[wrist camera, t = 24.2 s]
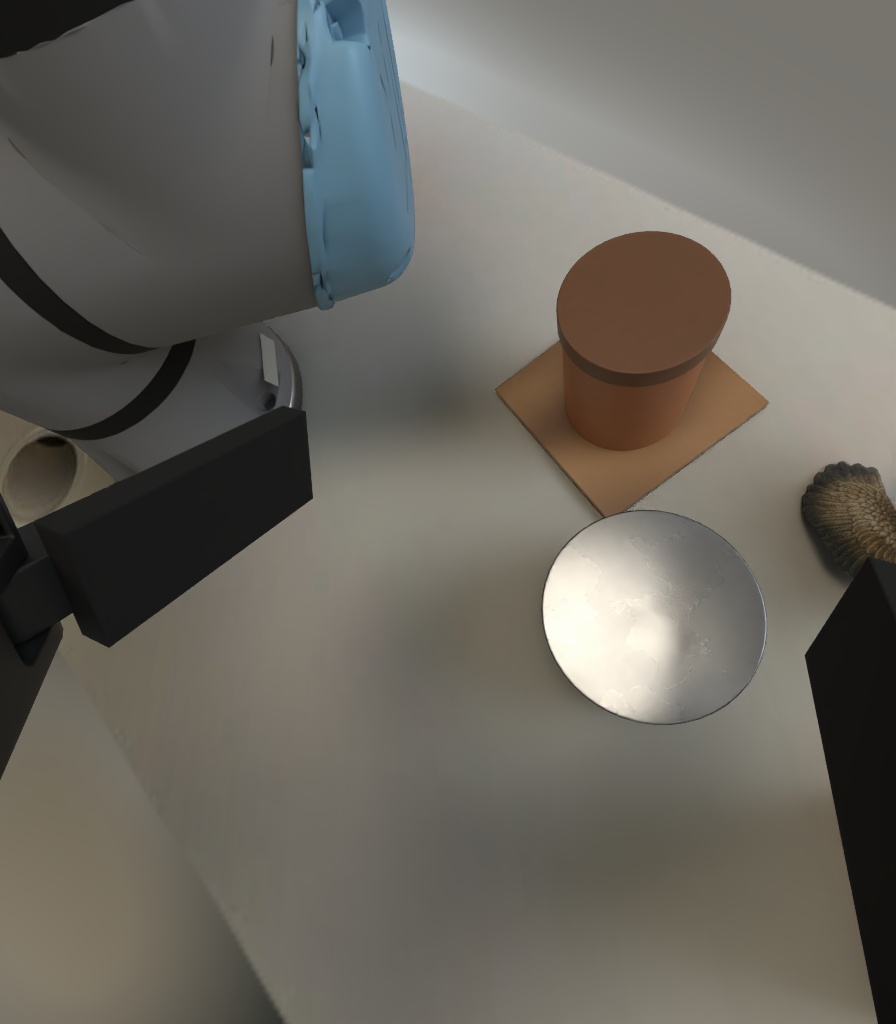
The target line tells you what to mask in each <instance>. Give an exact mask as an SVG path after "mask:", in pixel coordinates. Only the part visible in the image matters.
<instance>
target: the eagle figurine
mask: <svg viewBox="0 0 896 1024" xmlns="http://www.w3.org/2000/svg"><path fill="white" fill-rule="evenodd" d="M815 482H816V484H810V485H809V486H808V487H807V488H808V491H809V492H808V493H805V494H804V496H803V505H804V506H805V507H804V509H803V511H804V513H805V514H806V515H807V517H806V519H807V521H808V522H810V523H812V524H813V527H814V528H815V531H816V533H818V534H819V535H822V536H823V538H822V539H823V541H824V542H825V543H826V545H827V547H828V548H829V549H830V550H832V552H833V553H832V557H833V558H834V559H835V564H836V565H838V566H840V568H841V569H842V570H843V571H845V572H847V573H849V575H850V576H851V577H852V578H855V576H856V575H857V573H858V571H859V570H860V568H861V567H862V565H863V564H864V562H865V561H866V559H867V557H872V558H876V559H880V560H884V561H887V562H891V563H895V564H896V510H895V508H894V506H893V504H892V502H891V501H890V499H889V498H888V496H887V495H886V493H885V490H884V486H883V483H882V480H881V476H880V474H879V472H878V470H877V469H876V468H874V467H869V468H866V467H864V466H862V465H861V464H859V463H857V464H854V465H852V466H850V465H849V464H848V463H846V462H839V463H838V464H837V465H833V464H829V465H827V466H826V469H825V472H818V473H817V474H816V477H815Z"/></svg>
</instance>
